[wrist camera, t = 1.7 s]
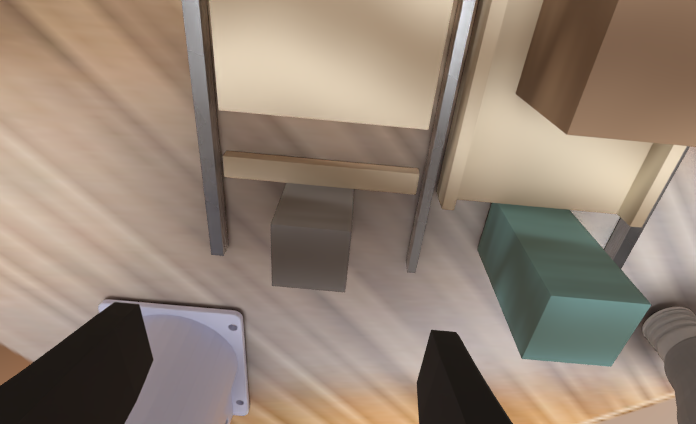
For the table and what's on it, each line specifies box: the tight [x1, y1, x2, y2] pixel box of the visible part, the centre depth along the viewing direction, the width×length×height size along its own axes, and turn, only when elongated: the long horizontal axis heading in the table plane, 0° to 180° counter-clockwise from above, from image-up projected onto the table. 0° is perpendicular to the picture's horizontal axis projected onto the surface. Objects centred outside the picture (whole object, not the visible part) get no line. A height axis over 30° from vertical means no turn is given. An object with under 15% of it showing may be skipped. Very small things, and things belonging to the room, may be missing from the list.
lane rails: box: [182, 0, 690, 273], centre depth 16 cm, size 15×20×1 cm
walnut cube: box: [516, 0, 696, 147], centre depth 12 cm, size 4×4×4 cm
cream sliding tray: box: [436, 0, 687, 366], centre depth 13 cm, size 14×8×6 cm, turn 175°
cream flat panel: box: [209, 0, 453, 292], centre depth 14 cm, size 14×8×4 cm, turn 175°
